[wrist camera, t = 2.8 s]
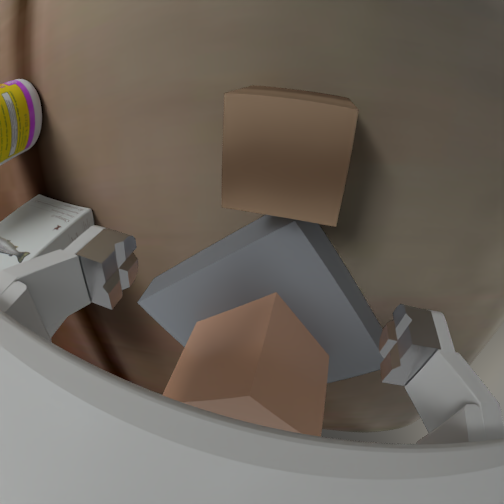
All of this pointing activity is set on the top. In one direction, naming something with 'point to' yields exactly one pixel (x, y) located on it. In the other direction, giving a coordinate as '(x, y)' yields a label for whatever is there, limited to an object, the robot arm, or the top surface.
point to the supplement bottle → (18, 118)
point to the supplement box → (41, 232)
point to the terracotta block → (255, 368)
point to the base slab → (273, 290)
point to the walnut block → (286, 152)
